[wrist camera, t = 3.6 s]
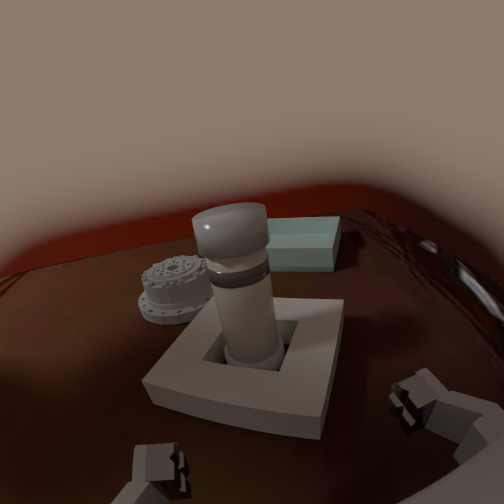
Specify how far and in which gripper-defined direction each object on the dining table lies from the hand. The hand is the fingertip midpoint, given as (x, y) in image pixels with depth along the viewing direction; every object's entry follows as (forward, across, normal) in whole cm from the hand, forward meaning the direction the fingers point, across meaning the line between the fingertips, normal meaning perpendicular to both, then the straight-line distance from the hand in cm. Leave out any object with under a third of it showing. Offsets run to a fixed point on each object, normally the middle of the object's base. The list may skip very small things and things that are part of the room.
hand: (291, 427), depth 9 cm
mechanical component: (+24, +6, +8) cm, 26 cm away
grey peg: (+11, 0, +7) cm, 13 cm away
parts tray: (+32, -9, +7) cm, 34 cm away
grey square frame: (+11, 0, +7) cm, 13 cm away
